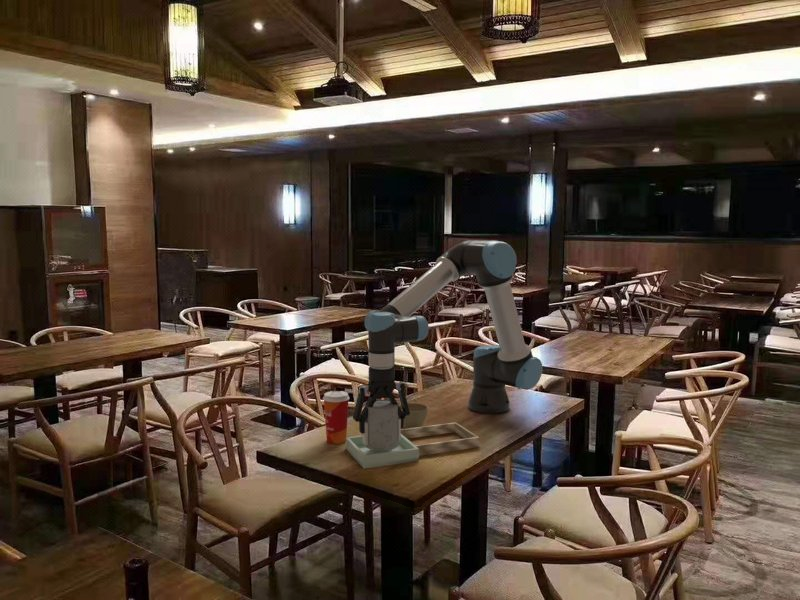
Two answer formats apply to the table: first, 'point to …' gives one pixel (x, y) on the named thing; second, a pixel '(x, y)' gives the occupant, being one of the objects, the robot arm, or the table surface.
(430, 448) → the corral
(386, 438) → the speckled stone pillar
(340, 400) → the coffee cup
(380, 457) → the bin
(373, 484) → the table surface
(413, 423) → the flower pot
